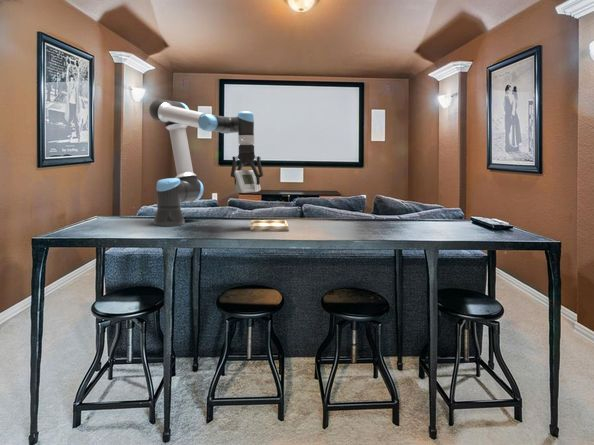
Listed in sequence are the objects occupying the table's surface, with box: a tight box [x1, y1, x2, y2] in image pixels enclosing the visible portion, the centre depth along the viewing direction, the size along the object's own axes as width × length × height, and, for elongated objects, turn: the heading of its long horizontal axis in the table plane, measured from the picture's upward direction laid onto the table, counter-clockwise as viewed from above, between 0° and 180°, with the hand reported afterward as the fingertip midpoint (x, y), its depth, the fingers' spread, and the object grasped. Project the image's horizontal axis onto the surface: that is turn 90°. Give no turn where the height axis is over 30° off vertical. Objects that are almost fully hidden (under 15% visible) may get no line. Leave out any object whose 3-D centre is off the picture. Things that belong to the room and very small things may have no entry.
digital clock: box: [234, 169, 262, 194], centre depth 212 cm, size 16×9×11 cm, turn 139°
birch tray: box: [249, 219, 289, 232], centre depth 217 cm, size 18×20×2 cm
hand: (247, 191), depth 212 cm, fingers closed on digital clock, 8 cm apart
